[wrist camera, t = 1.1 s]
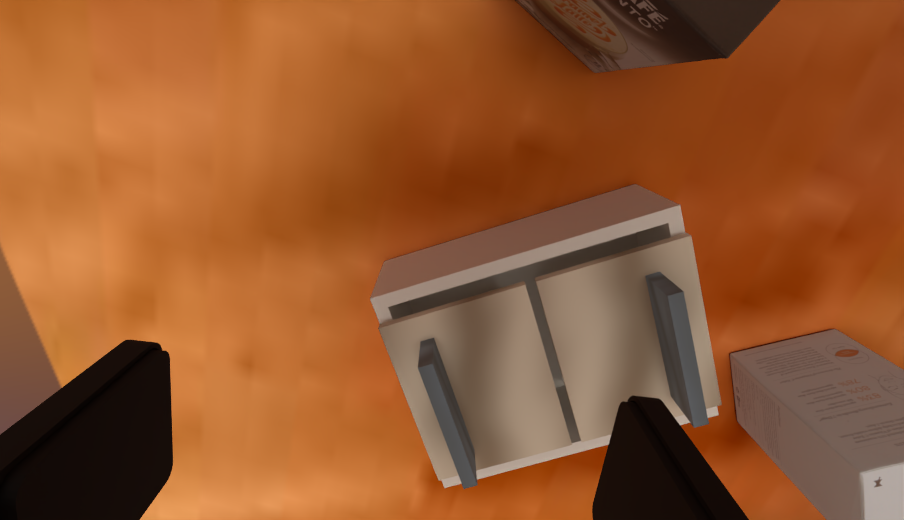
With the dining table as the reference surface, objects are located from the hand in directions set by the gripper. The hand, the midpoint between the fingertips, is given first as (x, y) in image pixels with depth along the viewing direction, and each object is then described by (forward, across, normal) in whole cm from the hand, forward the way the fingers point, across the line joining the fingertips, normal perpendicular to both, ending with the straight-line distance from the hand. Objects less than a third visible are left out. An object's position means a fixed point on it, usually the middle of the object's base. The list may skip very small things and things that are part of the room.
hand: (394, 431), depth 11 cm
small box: (+26, -29, +10) cm, 40 cm away
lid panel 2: (+18, -13, +5) cm, 23 cm away
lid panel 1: (+18, -4, +9) cm, 21 cm away
